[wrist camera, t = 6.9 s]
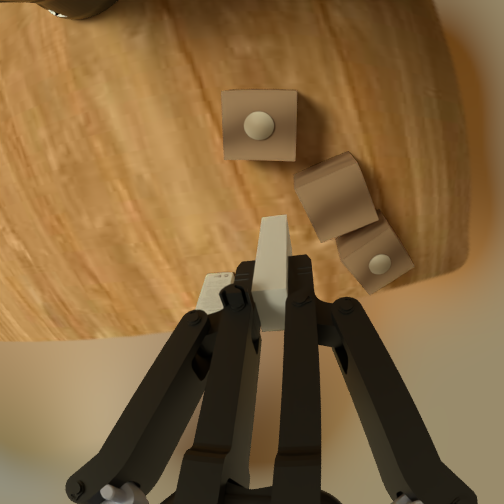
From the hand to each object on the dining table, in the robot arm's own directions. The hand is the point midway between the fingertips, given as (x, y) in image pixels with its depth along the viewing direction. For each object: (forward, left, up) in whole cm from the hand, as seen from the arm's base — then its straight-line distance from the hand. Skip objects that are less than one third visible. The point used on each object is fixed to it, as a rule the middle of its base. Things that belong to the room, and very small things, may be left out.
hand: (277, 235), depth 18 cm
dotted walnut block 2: (+12, +11, -17) cm, 23 cm away
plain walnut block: (+4, +6, -17) cm, 18 cm away
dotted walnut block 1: (-5, -1, -17) cm, 18 cm away
